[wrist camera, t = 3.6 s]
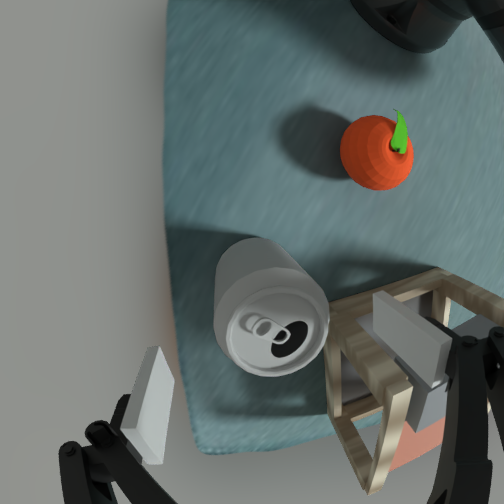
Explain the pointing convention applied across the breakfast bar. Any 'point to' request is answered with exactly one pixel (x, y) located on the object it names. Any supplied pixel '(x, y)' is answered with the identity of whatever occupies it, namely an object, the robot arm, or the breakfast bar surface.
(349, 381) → the frame
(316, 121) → the breakfast bar surface
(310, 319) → the can
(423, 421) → the grey and pink block
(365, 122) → the clementine
